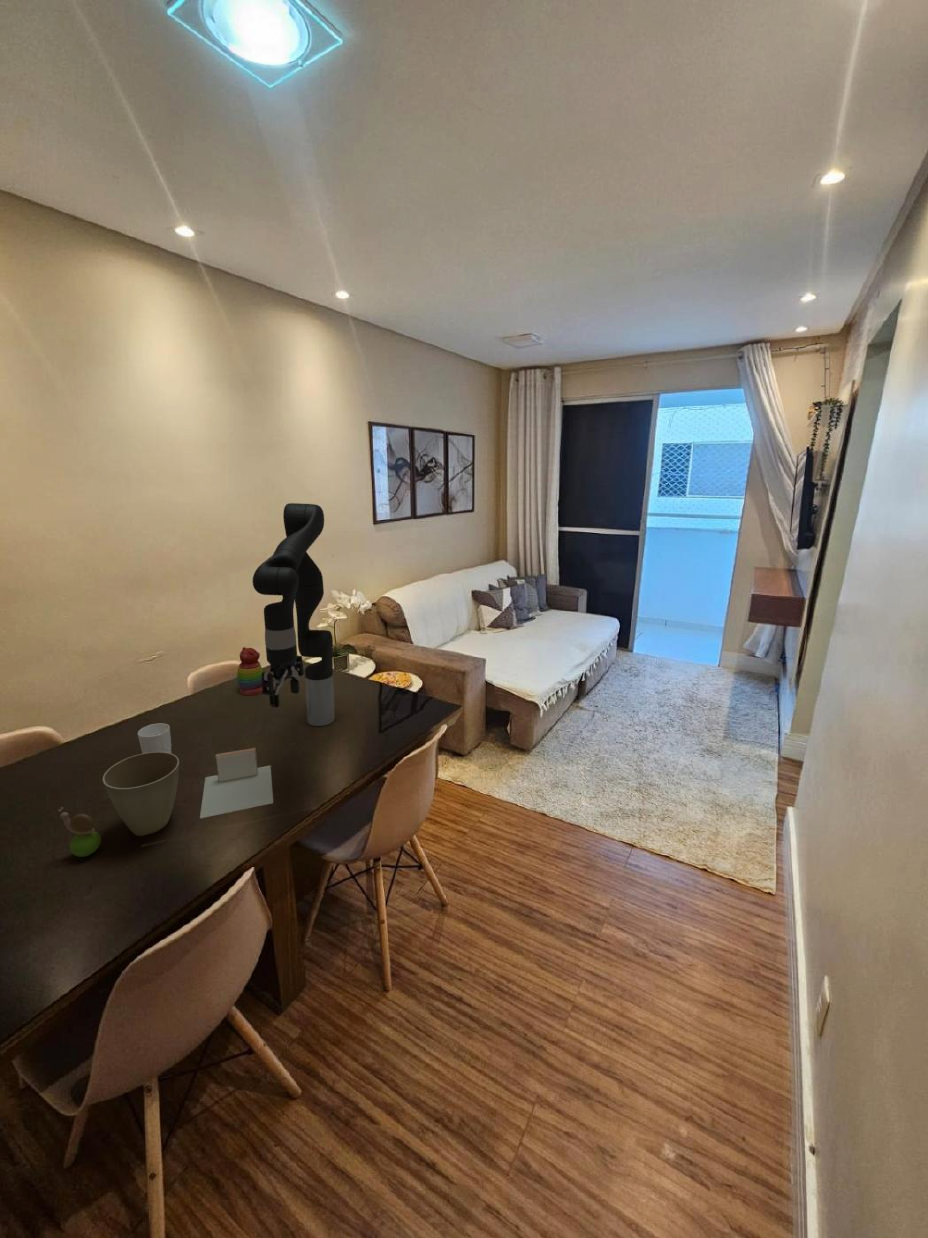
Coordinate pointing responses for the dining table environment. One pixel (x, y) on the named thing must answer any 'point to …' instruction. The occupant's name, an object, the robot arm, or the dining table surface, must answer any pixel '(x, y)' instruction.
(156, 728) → the white cup
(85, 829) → the snail figurine
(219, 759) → the tile
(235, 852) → the dining table surface
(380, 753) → the dining table surface
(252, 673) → the stacking bear
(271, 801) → the mat
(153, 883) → the dining table surface
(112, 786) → the plant pot
